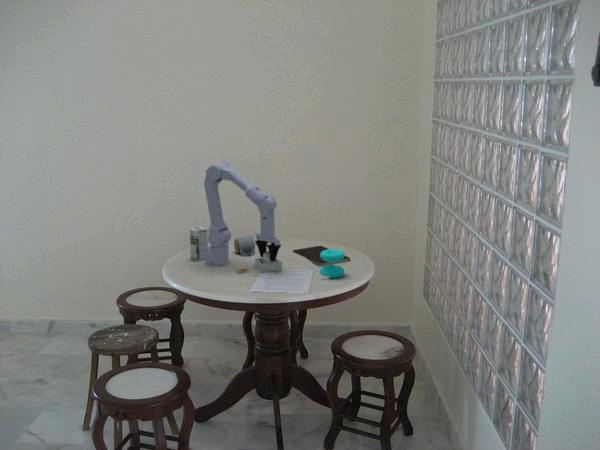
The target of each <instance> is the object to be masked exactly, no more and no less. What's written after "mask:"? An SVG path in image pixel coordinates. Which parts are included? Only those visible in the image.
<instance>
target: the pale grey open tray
mask: <svg viewBox="0 0 600 450" xmlns="http://www.w3.org/2000/svg"><path fill="white" fill-rule="evenodd" d="M254 267H255V268H256V269H257V271H259V272H260V273H269V272H279V271H282V270H283V262H282V261H281V260H280V259H279V258H278V257H276V260H275V261H273V263H264V264H263V257H260V258H259V257H257V258H254Z"/></svg>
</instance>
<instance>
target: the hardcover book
mask: <svg viewBox="0 0 600 450" xmlns="http://www.w3.org/2000/svg"><path fill="white" fill-rule="evenodd" d="M328 249H329V248H327V247H326V246H323V245H315V246H310V247H304V248H298V249H292V252H293V253H295V254H298V255H300V256H302V257H304V258H306V259H307V260H308V262H309V261H310V263H311V264H314V265H316V266H318V267H324V266H327V265H336V264H339V263H346V262H350V261H351V258H350V257H349V256H347V255H345V256H344V258H343V259H342V260H341V261H338V262H327V261H324V260H322V259H321V257H320V253H321V252H322V251H324V250H328Z"/></svg>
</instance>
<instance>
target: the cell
mask: <svg viewBox="0 0 600 450" xmlns="http://www.w3.org/2000/svg"><path fill="white" fill-rule="evenodd" d="M262 258H263V264H264V263H273V261H271V260H270V253H269V250H268V251H267V250H266V252H264V253H263V257H262Z"/></svg>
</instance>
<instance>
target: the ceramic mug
mask: <svg viewBox="0 0 600 450" xmlns="http://www.w3.org/2000/svg"><path fill="white" fill-rule="evenodd" d="M233 244H234V250H235V253H236V254H241V256H243V257H251V256H253V255H254V253H255V250H256V243H255V240H254V237H253V235H247V236H241V237H237V238H235V239H234V241H233Z"/></svg>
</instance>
